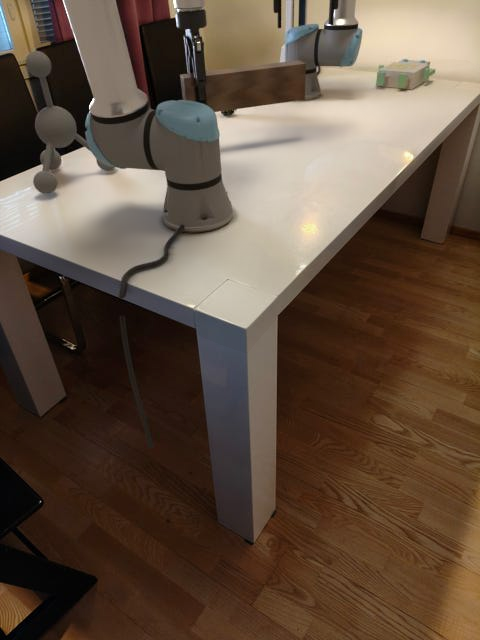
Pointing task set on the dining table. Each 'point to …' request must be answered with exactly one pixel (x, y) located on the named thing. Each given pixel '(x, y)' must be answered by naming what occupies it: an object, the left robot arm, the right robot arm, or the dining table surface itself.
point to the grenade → (228, 112)
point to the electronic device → (291, 19)
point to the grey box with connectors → (404, 74)
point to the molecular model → (52, 127)
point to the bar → (250, 85)
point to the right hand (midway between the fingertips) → (305, 26)
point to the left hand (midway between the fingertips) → (199, 109)
